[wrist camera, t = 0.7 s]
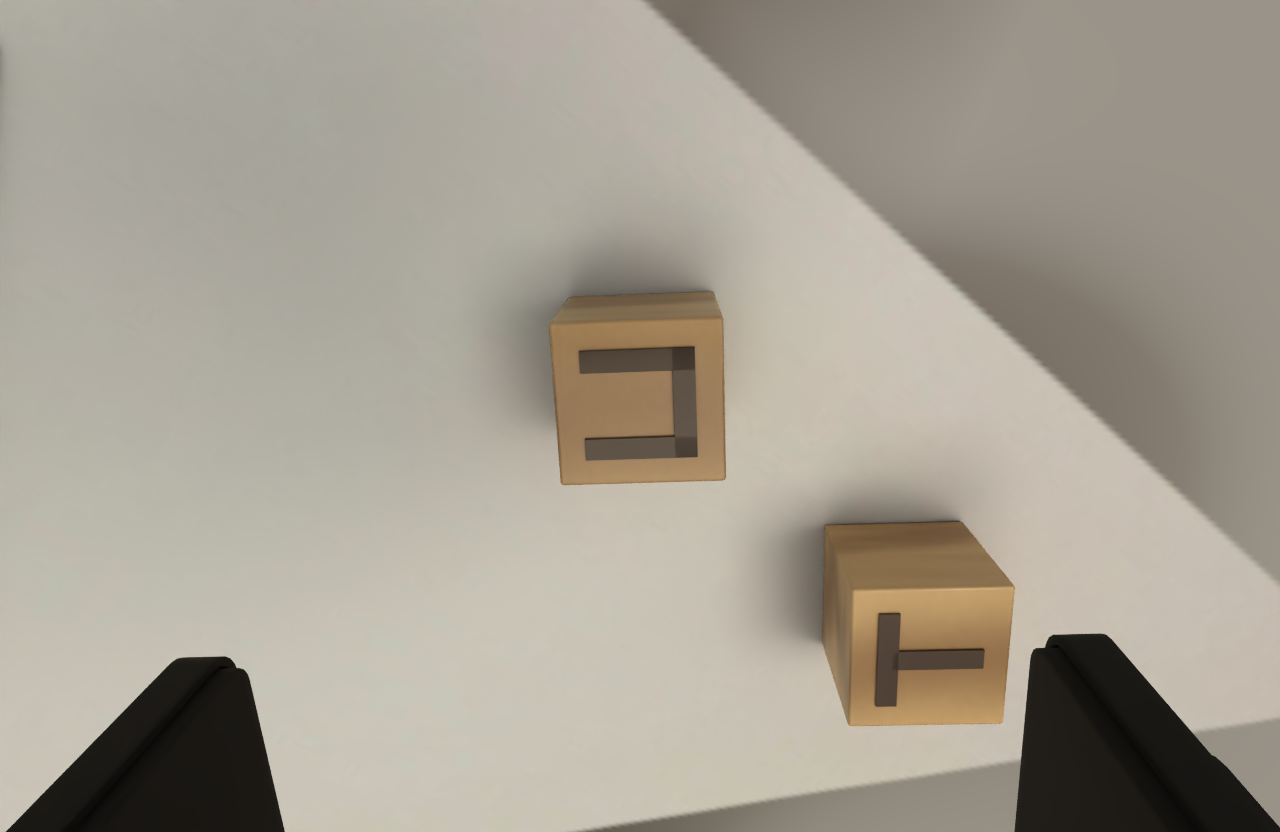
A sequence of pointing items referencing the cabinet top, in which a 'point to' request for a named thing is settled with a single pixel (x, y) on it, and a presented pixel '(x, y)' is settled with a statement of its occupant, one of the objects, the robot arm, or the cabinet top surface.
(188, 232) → the cabinet top surface
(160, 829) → the robot arm
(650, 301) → the letter u block
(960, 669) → the tile
